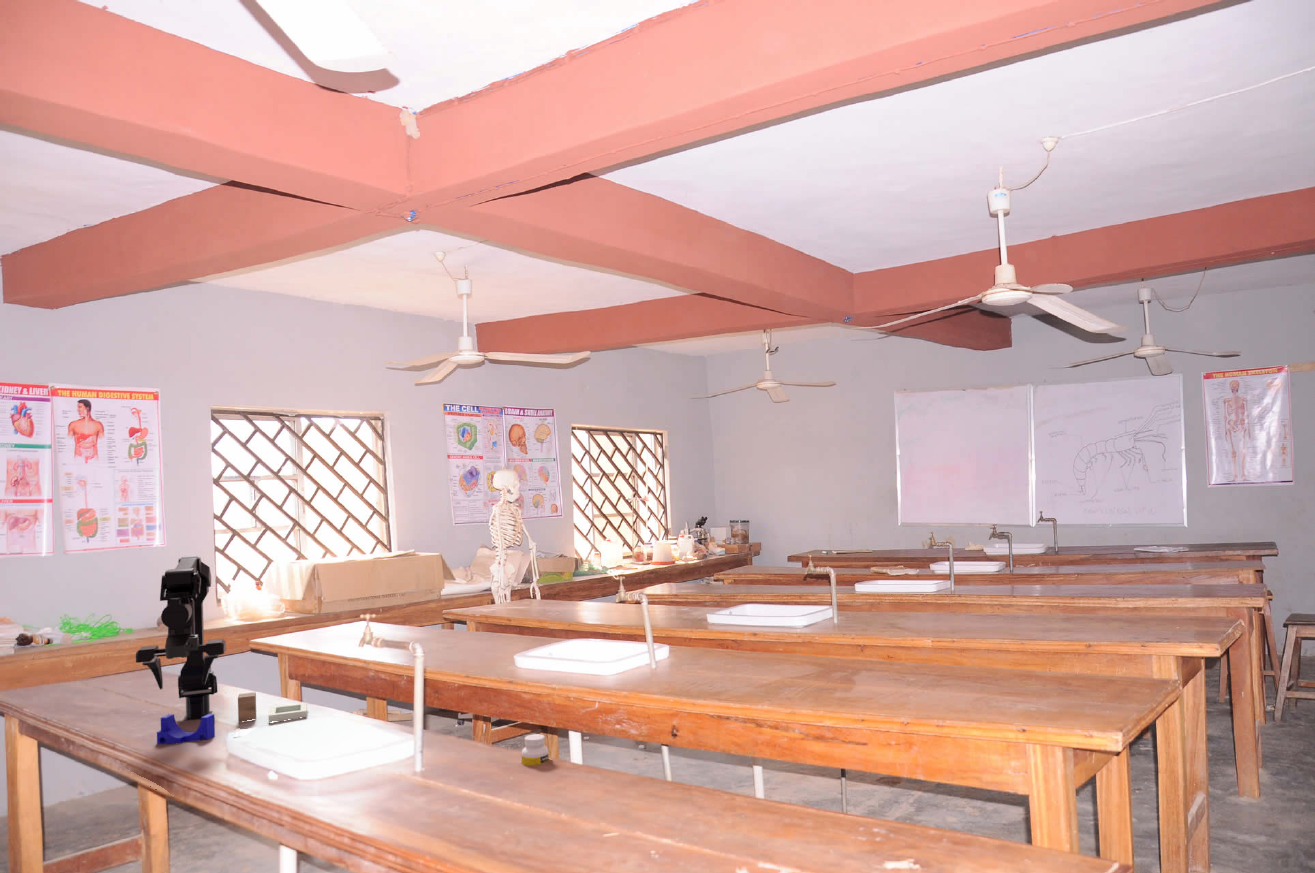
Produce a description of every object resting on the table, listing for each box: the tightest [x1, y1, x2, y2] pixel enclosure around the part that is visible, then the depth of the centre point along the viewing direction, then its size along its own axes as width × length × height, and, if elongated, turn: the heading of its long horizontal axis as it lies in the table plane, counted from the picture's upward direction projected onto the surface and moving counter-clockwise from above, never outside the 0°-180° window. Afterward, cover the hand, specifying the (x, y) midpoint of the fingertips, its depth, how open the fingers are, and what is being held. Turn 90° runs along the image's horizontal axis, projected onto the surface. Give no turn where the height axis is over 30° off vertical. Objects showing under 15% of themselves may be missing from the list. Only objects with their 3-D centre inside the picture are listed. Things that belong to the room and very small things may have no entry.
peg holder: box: [268, 702, 308, 723], centre depth 235 cm, size 9×9×3 cm
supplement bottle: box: [521, 733, 549, 767], centre depth 181 cm, size 5×5×10 cm
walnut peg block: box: [237, 691, 257, 722], centre depth 236 cm, size 4×4×7 cm
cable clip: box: [156, 713, 216, 745], centre depth 221 cm, size 12×4×6 cm, turn 84°
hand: (182, 686), depth 217 cm, fingers open, 9 cm apart
